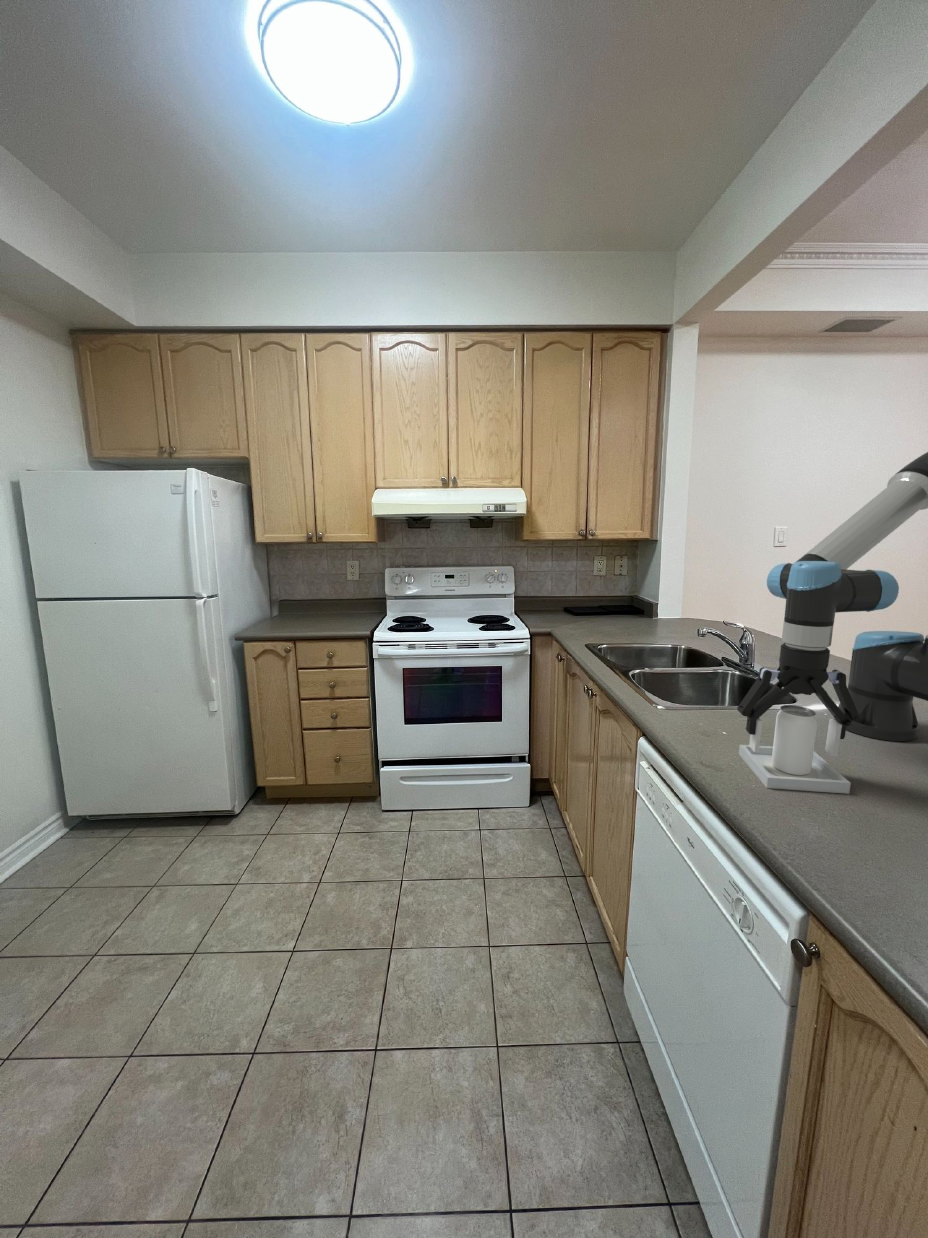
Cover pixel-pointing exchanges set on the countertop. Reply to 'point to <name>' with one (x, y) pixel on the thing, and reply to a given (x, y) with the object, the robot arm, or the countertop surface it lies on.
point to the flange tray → (816, 780)
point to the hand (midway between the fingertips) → (792, 751)
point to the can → (794, 740)
